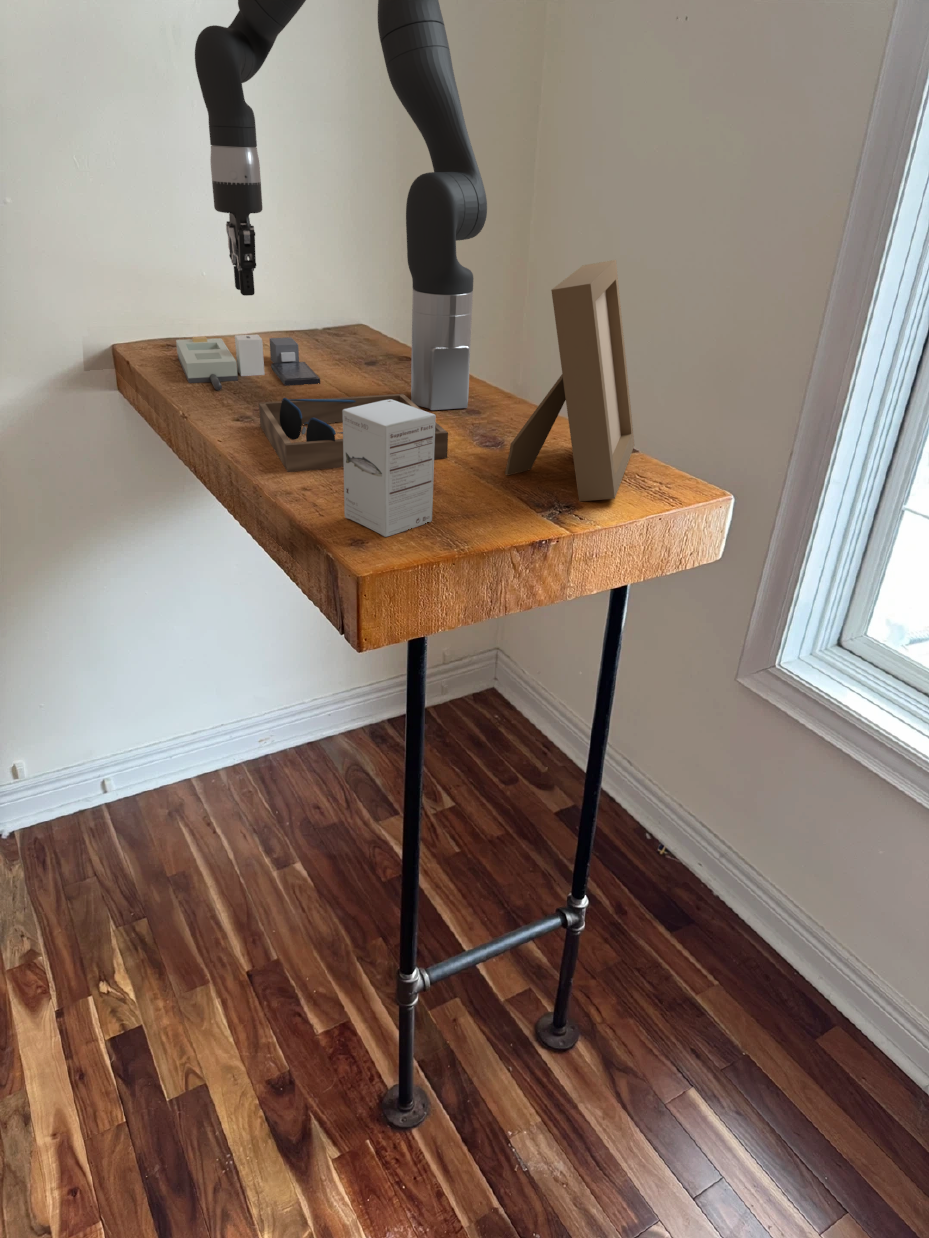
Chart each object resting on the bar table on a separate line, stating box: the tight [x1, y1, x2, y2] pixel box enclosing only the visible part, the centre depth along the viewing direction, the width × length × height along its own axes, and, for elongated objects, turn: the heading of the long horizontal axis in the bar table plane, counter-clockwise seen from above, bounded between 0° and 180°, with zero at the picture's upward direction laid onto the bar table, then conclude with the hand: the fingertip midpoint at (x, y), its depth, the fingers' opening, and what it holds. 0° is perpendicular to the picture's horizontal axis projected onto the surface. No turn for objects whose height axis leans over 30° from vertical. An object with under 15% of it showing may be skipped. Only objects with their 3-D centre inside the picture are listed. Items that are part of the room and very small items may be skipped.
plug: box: [269, 336, 300, 363], centre depth 160 cm, size 7×4×4 cm, turn 21°
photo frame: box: [504, 259, 635, 502], centre depth 111 cm, size 15×22×25 cm
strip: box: [175, 335, 239, 391], centre depth 152 cm, size 24×8×4 cm, turn 21°
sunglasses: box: [280, 397, 356, 442], centre depth 123 cm, size 17×15×5 cm
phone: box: [270, 361, 321, 387], centre depth 154 cm, size 12×6×1 cm, turn 21°
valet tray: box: [258, 393, 449, 473], centre depth 123 cm, size 20×22×4 cm
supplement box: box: [342, 399, 437, 538], centre depth 97 cm, size 7×7×13 cm
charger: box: [234, 334, 265, 377], centre depth 153 cm, size 4×4×6 cm
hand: (244, 291), depth 148 cm, fingers open, 5 cm apart
